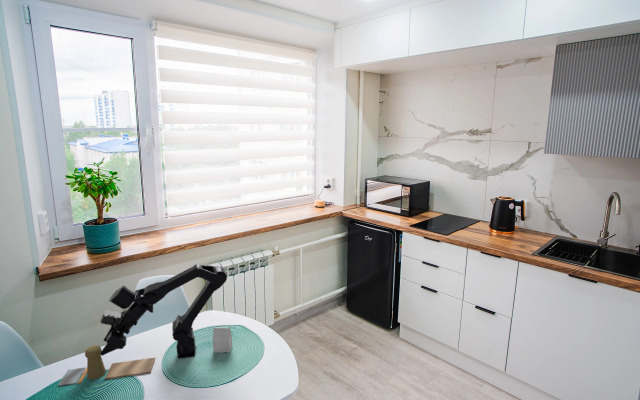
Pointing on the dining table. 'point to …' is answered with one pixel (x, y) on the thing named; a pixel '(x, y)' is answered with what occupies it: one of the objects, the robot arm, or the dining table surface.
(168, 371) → the dining table surface
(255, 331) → the dining table surface
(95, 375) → the cork
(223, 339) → the grey rectangular block
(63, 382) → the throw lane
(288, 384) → the dining table surface
